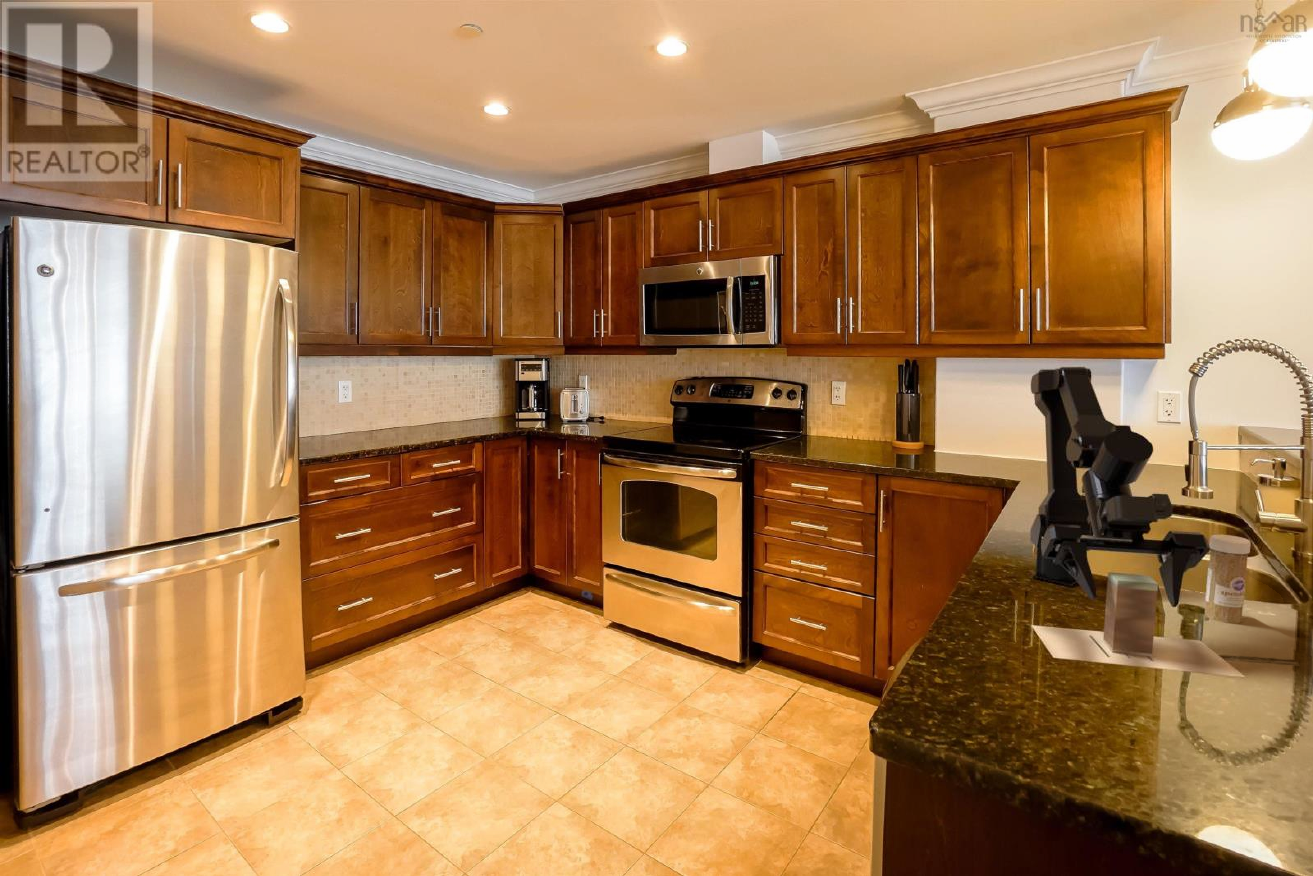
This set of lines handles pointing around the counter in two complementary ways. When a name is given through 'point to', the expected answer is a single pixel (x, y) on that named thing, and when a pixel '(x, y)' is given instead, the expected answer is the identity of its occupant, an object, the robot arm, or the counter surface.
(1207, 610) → the sprinkles bottle
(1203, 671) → the birch board
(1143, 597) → the block
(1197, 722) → the counter surface
